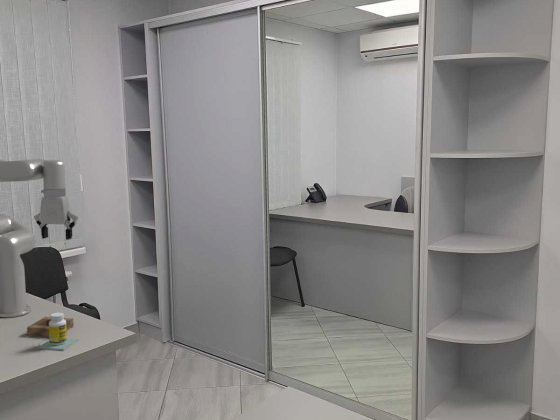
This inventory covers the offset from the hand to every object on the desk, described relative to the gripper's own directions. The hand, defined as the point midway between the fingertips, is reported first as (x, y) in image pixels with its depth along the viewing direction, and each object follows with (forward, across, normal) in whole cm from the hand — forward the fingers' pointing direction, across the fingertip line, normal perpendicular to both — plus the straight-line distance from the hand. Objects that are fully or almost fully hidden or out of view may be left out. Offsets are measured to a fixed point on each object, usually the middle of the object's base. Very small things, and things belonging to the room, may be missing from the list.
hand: (57, 238), depth 207 cm
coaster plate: (+30, +15, -26) cm, 43 cm away
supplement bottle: (+30, +15, -26) cm, 43 cm away
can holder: (+30, +6, -16) cm, 34 cm away
